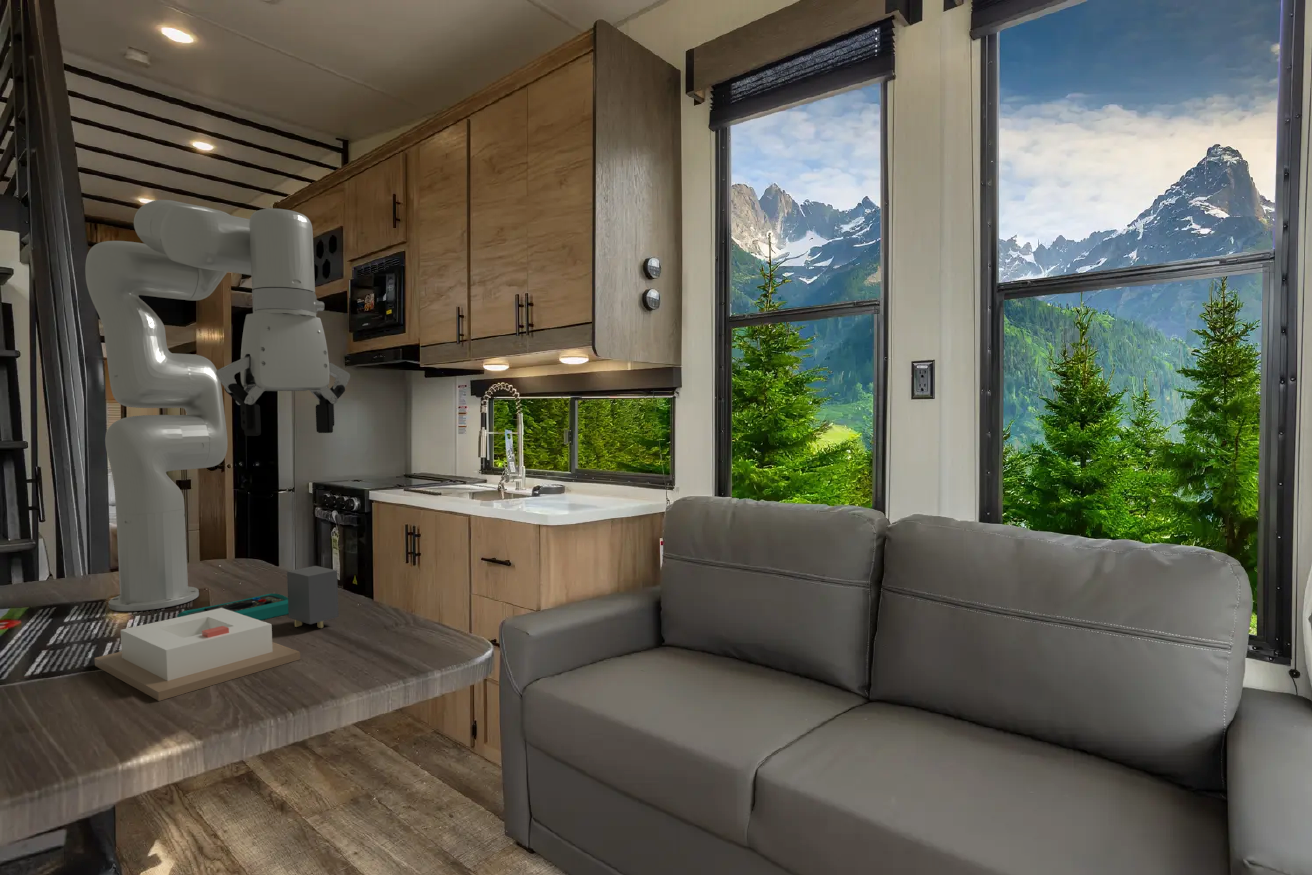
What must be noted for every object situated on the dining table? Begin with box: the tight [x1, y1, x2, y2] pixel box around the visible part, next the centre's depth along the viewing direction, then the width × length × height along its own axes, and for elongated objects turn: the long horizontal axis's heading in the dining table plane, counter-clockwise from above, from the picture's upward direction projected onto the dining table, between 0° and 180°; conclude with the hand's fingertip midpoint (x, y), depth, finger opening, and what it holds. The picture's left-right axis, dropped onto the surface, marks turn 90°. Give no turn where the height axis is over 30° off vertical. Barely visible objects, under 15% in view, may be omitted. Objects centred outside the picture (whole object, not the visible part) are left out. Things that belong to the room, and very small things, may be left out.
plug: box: [286, 565, 340, 629], centre depth 109 cm, size 6×4×8 cm
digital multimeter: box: [176, 593, 289, 621], centre depth 112 cm, size 7×15×3 cm, turn 143°
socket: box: [94, 608, 301, 702], centre depth 93 cm, size 20×16×5 cm
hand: (290, 434), depth 98 cm, fingers open, 9 cm apart
